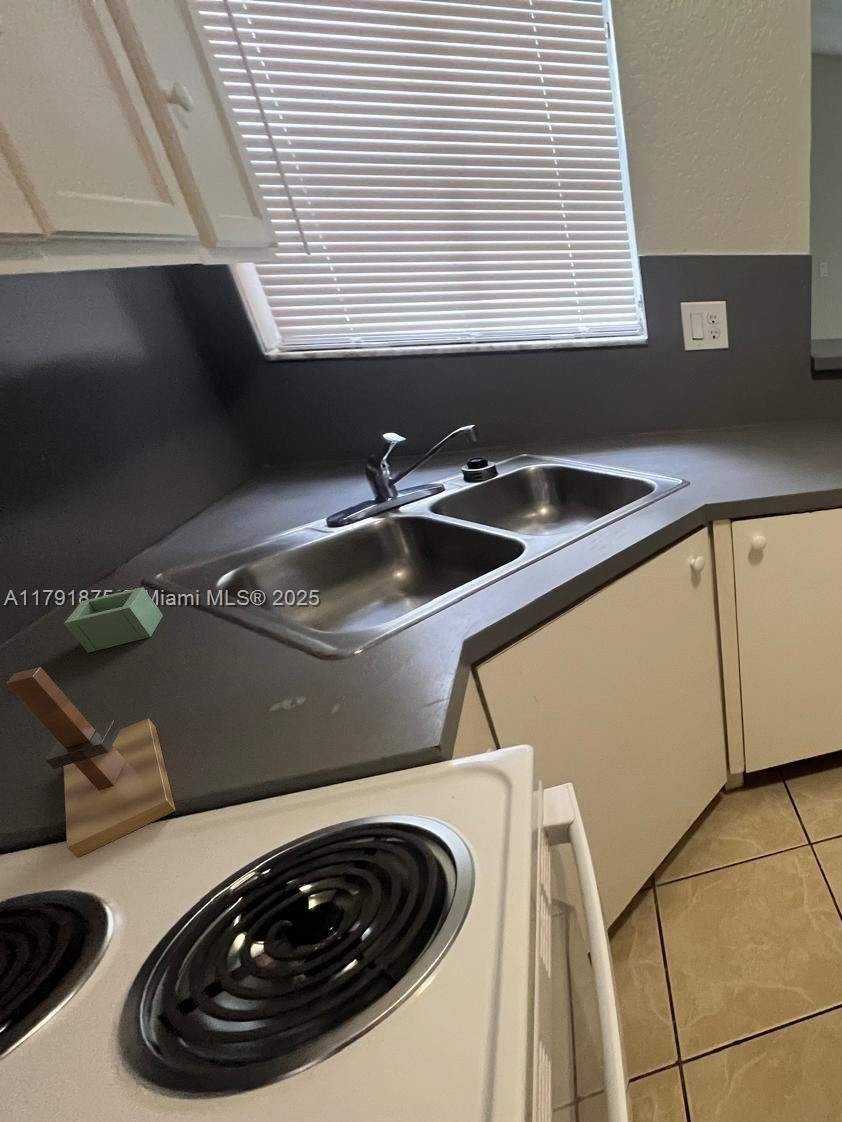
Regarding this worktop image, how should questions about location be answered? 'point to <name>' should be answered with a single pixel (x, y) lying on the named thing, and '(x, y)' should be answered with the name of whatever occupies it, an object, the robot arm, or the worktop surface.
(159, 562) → the worktop surface
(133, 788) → the board
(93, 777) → the brown piece
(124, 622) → the green open box
